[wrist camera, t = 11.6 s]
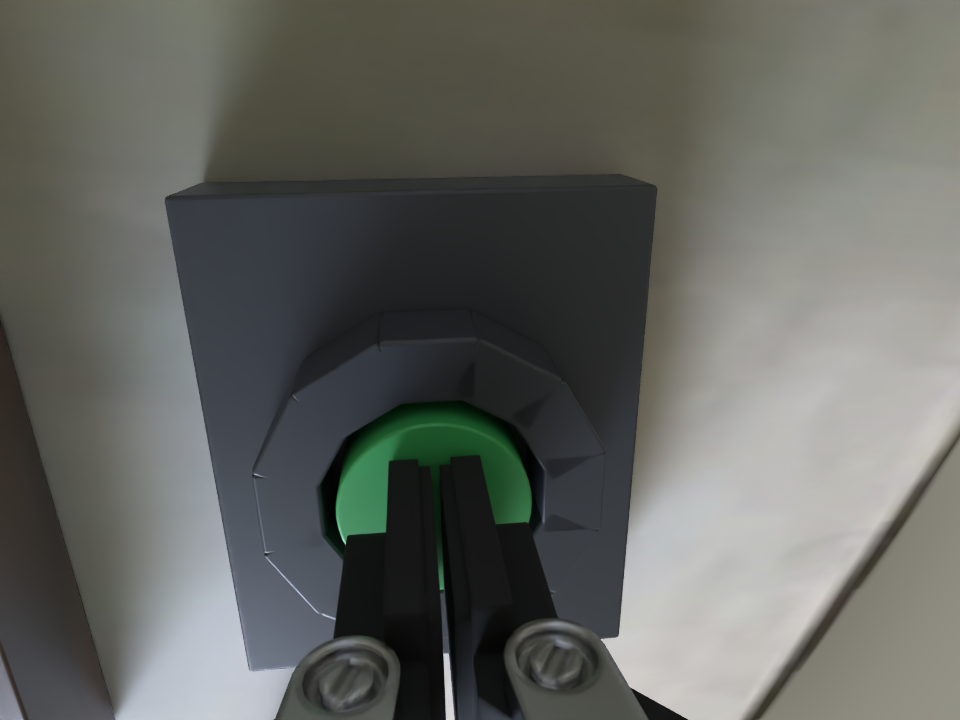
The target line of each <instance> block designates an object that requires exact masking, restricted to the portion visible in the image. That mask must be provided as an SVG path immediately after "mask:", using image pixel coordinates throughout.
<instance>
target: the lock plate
mask: <svg viewBox="0 0 960 720" xmlns="http://www.w3.org/2000/svg"><path fill="white" fill-rule="evenodd" d="M0 720H115V718H114V714H113V711H112V707H111V704H110V700H109V697H108V693H107V690H106V686H105V683H104V679H103V676H102V672H101V669H100V665H99V662H98V658H97V655H96V651H95V648H94V645H93V641H92V638H91V634H90V631H89V627H88V624H87V620H86V617H85V613H84V610H83V606H82V603H81V599H80V596H79V592H78V589H77V585H76V582H75V578H74V575H73V572H72V568H71V565H70V561H69V558H68V554H67V551H66V547H65V544H64V540H63V537H62V533H61V530H60V526H59V523H58V519H57V516H56V512H55V509H54V505H53V502H52V499H51V495H50V492H49V488H48V485H47V481H46V478H45V474H44V471H43V467H42V464H41V460H40V457H39V453H38V450H37V446H36V443H35V439H34V436H33V432H32V429H31V426H30V422H29V419H28V415H27V412H26V408H25V405H24V401H23V398H22V394H21V391H20V387H19V384H18V380H17V377H16V373H15V370H14V366H13V363H12V359H11V356H10V352H9V349H8V346H7V342H6V339H5V335H4V332H3V328H2V325H1V321H0Z"/></svg>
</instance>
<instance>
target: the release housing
mask: <svg viewBox="0 0 960 720" xmlns="http://www.w3.org/2000/svg"><path fill="white" fill-rule="evenodd" d="M656 196H657V187H656V186H655V185H653V184H650V183H646V182H643V181H640V180H637V179H634V178H630V177H627V176H624V175H621V174H607V175H560V176H512V177H465V178H417V179H370V180H322V181H275V182H227V183H200V184H198V185H195V186H193V187H190V188H187V189H185V190H182V191H180V192H177V193H175V194H172V195H169V196H167V197H166V198H165V205H166V211H167V216H168V222H169V227H170V233H171V238H172V244H173V250H174V255H175V261H176V266H177V272H178V277H179V283H180V288H181V294H182V300H183V305H184V311H185V316H186V322H187V327H188V333H189V338H190V344H191V350H192V355H193V361H194V366H195V372H196V377H197V383H198V389H199V394H200V400H201V405H202V411H203V416H204V422H205V427H206V433H207V439H208V444H209V450H210V455H211V461H212V466H213V472H214V477H215V483H216V489H217V494H218V500H219V505H220V511H221V516H222V522H223V527H224V533H225V539H226V544H227V550H228V555H229V561H230V566H231V572H232V577H233V583H234V589H235V594H236V600H237V605H238V611H239V616H240V622H241V627H242V633H243V639H244V644H245V650H246V655H247V661H248V666H249V670H250V671H261V670H272V669H282V668H293V667H297V665H298V663H299V662H300V661H301V660H302V659H303V658H304V657H305V656H306V655H307V654H308V653H309V652H310V651H311V650H312V649H314V648H316V647H317V646H319V645H321V644H322V643H324V642H326V641H329V640H332V639H333V636H334V628H335V621H336V613H337V606H338V598H339V590H340V583H341V575H342V568H343V560H344V553H345V544H344V542H343V540H342V538H341V535H340V532H339V529H338V525H337V520H336V500H337V493H338V487H339V481H340V475H341V469H342V463H343V457H344V451H345V448H346V444H347V441H348V439H349V436H350V434H351V433H353V432H355V431H356V430H358V429H360V428H362V427H363V426H365V425H367V424H368V423H370V422H372V421H373V420H375V419H377V418H378V417H380V416H382V415H383V414H385V413H387V412H388V411H390V410H392V409H394V408H395V407H397V406H399V405H400V404H408V403H426V402H445V401H463V402H466V403H468V404H470V405H472V406H474V407H476V408H478V409H481V410H483V411H485V412H487V413H489V414H491V415H493V416H496V417H498V418H500V419H502V420H504V421H506V422H507V424H508V425H509V427H510V429H511V431H512V433H513V436H514V439H515V441H516V444H517V447H518V450H519V453H520V456H521V459H522V462H523V465H524V468H525V471H526V474H527V477H528V480H529V483H530V488H531V495H532V508H531V516H530V520H529V526H530V529H531V532H532V535H533V538H534V542H535V545H536V548H537V551H538V555H539V558H540V561H541V564H542V568H543V571H544V574H545V577H546V581H547V584H548V587H549V590H550V594H551V597H552V600H553V603H554V607H555V610H556V613H557V616H558V618H560V619H567V620H571V621H574V622H576V623H579V624H581V625H584V626H585V627H587V628H588V629H590V630H591V631H592V632H594V633H595V634H596V635H597V636H598V637H599V638H600V639H604V638H615V637H618V635H619V626H620V614H621V602H622V591H623V579H624V568H625V556H626V544H627V533H628V521H629V510H630V498H631V486H632V475H633V463H634V452H635V440H636V428H637V417H638V405H639V394H640V382H641V370H642V359H643V347H644V335H645V324H646V312H647V301H648V289H649V277H650V266H651V254H652V243H653V231H654V219H655V208H656ZM440 598H441V613H442V634H443V653H449V646H448V635H447V623H446V612H445V599H444V589H441V590H440Z"/></svg>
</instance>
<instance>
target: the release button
mask: <svg viewBox="0 0 960 720" xmlns="http://www.w3.org/2000/svg"><path fill="white" fill-rule="evenodd" d="M472 455H480V458H481V462H482V467H483V471H484V476H485V480H486V484H487V489H488V493H489V498H490V502H491V507H492V511H493V516H494V520H495V524H505V523H518V522H527V523H528V524H529V520H530V516H531V508H532V495H531V488H530V483H529V480H528V477H527V474H526V471H525V468H524V465H523V462H522V459H521V456H520V453H519V450H518V447H517V444H516V441H515V439H514V436H513V433H512V431H511V429H510V427H509V425H508V424H507V422H506V421H504V420H502V419H500V418H498V417H496V416H493V415H491V414H489V413H487V412H485V411H483V410H481V409H478V408H476V407H474V406H472V405H470V404H468V403H466V402H463V401H445V402H426V403H408V404H400V405H399V406H397V407H395V408H394V409H392V410H390V411H388V412H387V413H385V414H383V415H382V416H380V417H378V418H377V419H375V420H373V421H372V422H370V423H368V424H367V425H365V426H363V427H362V428H360V429H358V430H356V431H355V432H353V433H351V434H350V436H349V439H348V441H347V444H346V448H345V451H344V457H343V463H342V469H341V475H340V481H339V487H338V493H337V500H336V520H337V525H338V529H339V532H340V535H341V538H342V540H343V542H344V544H345V545H346V539H347V536H348V535H356V534H370V533H383V532H386V517H387V492H388V467H389V461H393V460H408V459H418V465H419V467H421V466H430V470H431V482H432V495H433V508H434V521H435V533H436V546H437V559H438V572H439V585H440V590H441V589H444V579H443V552H442V525H441V498H440V470H439V466H440V465H450V457H456V456H472Z"/></svg>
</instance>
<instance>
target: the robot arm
mask: <svg viewBox="0 0 960 720" xmlns="http://www.w3.org/2000/svg"><path fill="white" fill-rule="evenodd" d="M439 470H440V498H441V525H442V552H443V579H444V599H445V612H446V623H447V635H448V646H449V658H450V670H451V681H452V693H453V704H454V716H455V720H688V719H686V718H684V717H682V716H681V715H679V714H677V713H675V712H673V711H672V710H670V709H668V708H666V707H664V706H663V705H661V704H659V703H657V702H655V701H654V700H652V699H650V698H648V697H646V696H644V695H643V694H641V693H639V692H637V691H635V690H634V689H632V688H630V687H629V685H628V684H627V682H626V680H625V678H624V677H623V675H622V673H621V672H620V670H619V668H618V666H617V665H616V663H615V661H614V660H613V658H612V656H611V654H610V653H609V651H608V649H607V648H606V646H605V644H604V643H603V642H602V641H601V640H600V638H599V637H598V636H597V635H596V634H595V633H594V632H592V631H591V630H590V629H588V628H587V627H585V626H584V625H581V624H579V623H576V622H574V621H571V620H567V619H560V618H558V616H557V613H556V610H555V607H554V603H553V600H552V597H551V594H550V590H549V587H548V584H547V581H546V577H545V574H544V571H543V568H542V564H541V561H540V558H539V555H538V551H537V548H536V545H535V542H534V538H533V535H532V532H531V529H530V526H529V524H528V523H527V522H518V523H505V524H495V520H494V516H493V511H492V507H491V502H490V498H489V493H488V489H487V484H486V480H485V476H484V471H483V467H482V462H481V458H480V455H472V456H456V457H450V465H440V466H439ZM274 720H446V712H445V686H444V660H443V634H442V613H441V598H440V585H439V572H438V559H437V546H436V533H435V521H434V508H433V495H432V482H431V470H430V466H421V467H419V465H418V459H408V460H393V461H389V467H388V492H387V517H386V532H383V533H370V534H356V535H348V536H347V539H346V545H345V553H344V560H343V568H342V575H341V583H340V590H339V598H338V606H337V613H336V621H335V628H334V636H333V639H332V640H329V641H326V642H324V643H322V644H321V645H319V646H317V647H316V648H314V649H312V650H311V651H310V652H309V653H308V654H307V655H306V656H305V657H304V658H303V659H302V660H301V661H300V662H299V663H298V665H297V667H296V669H295V670H294V672H293V674H292V676H291V679H290V681H289V684H288V687H287V689H286V692H285V695H284V697H283V700H282V702H281V705H280V708H279V710H278V713H277V716H276V718H275V719H274Z"/></svg>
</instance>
